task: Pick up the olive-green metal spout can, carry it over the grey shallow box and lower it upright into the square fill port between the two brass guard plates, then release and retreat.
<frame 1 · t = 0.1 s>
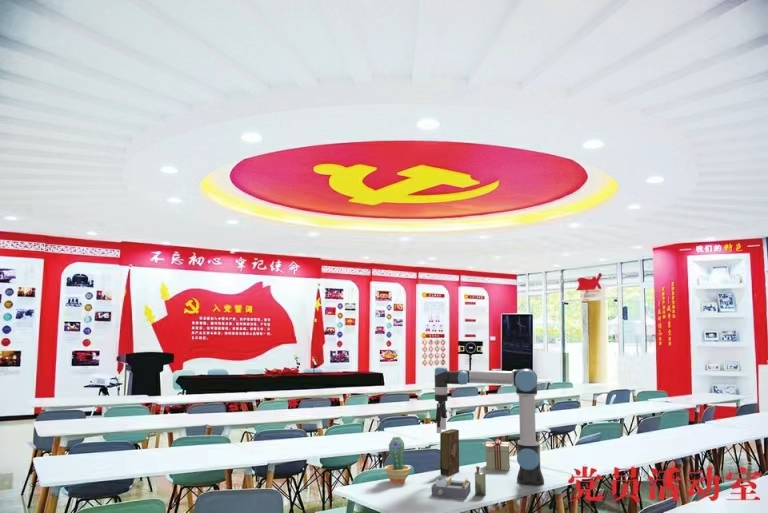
hand: (441, 431, 332), 28 cm above the table, fingers open, 13 cm apart
book: (450, 473, 348), on the table
spout can: (480, 494, 300), on the table
gift box: (495, 468, 363), on the table
potted cactus: (397, 482, 326), on the table
grey shallow box: (451, 493, 302), on the table
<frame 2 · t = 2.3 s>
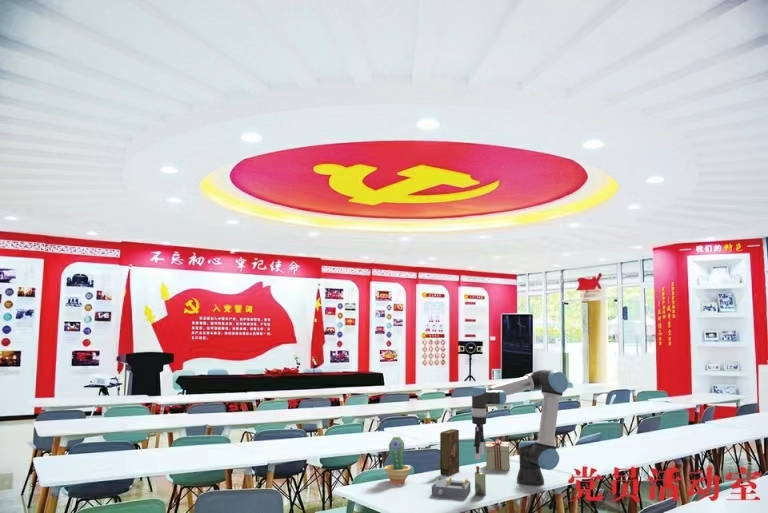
hand: (479, 457, 303), 19 cm above the table, fingers open, 13 cm apart
nothing on the table moved.
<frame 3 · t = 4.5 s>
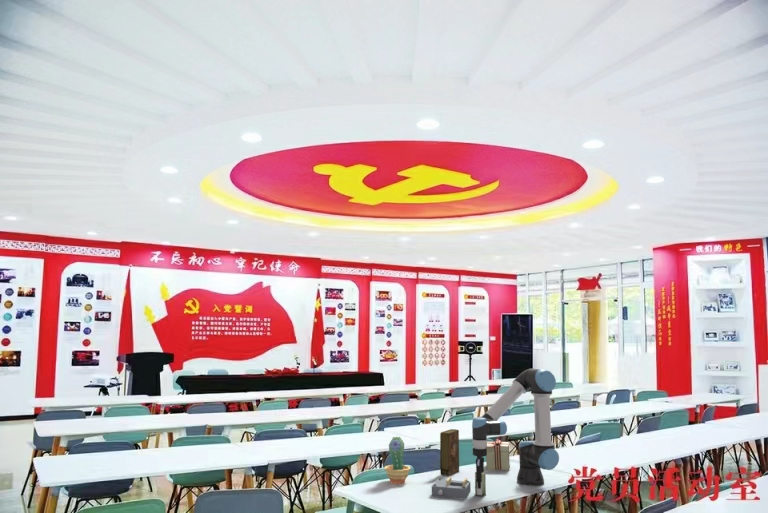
hand: (480, 493, 300), 1 cm above the table, fingers closed on spout can, 5 cm apart
spout can: (480, 494, 300), on the table, touching gripper
everything else where it was.
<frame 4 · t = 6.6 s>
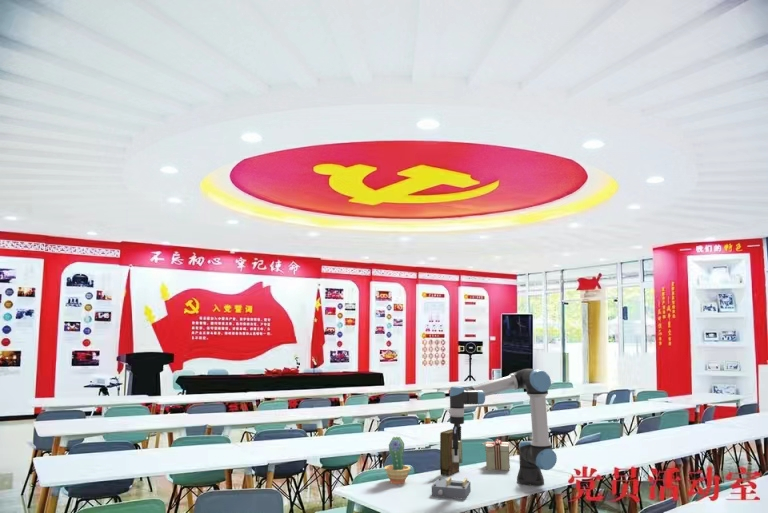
hand: (457, 460, 303), 17 cm above the table, fingers closed on spout can, 5 cm apart
spout can: (457, 462, 303), point 16 cm above the table, touching gripper
everything else where it was.
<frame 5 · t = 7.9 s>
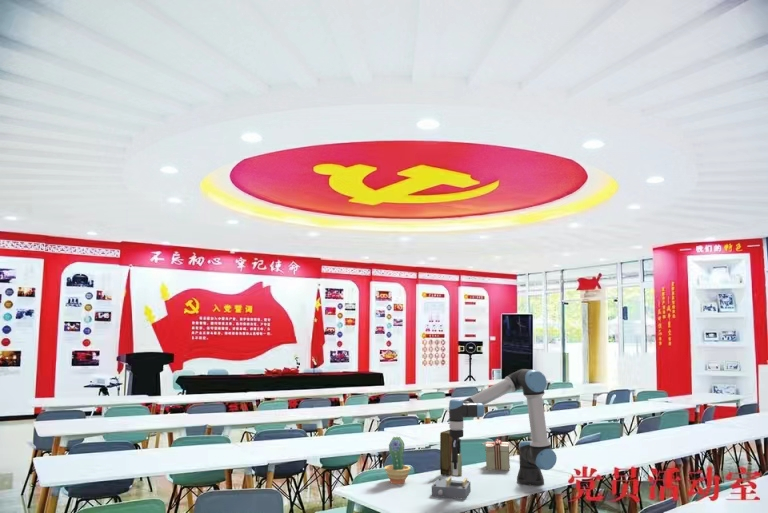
hand: (456, 473, 302), 10 cm above the table, fingers closed on spout can, 5 cm apart
spout can: (456, 475, 302), point 9 cm above the table, touching gripper
everything else where it was.
when the fingers open (5 cm above the table, at t = 9.1 s): spout can drops 1 cm, resting on grey shallow box.
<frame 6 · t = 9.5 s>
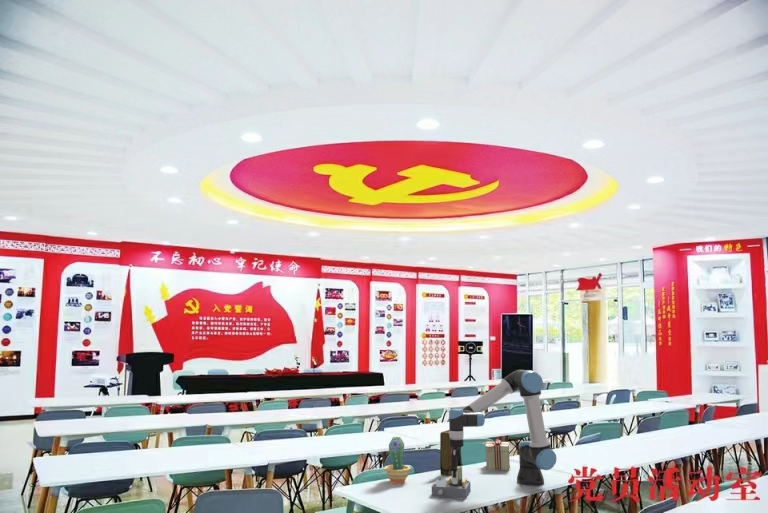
hand: (456, 481, 302), 7 cm above the table, fingers open, 11 cm apart
spout can: (457, 488, 301), point 3 cm above the table, touching grey shallow box
everything else where it was.
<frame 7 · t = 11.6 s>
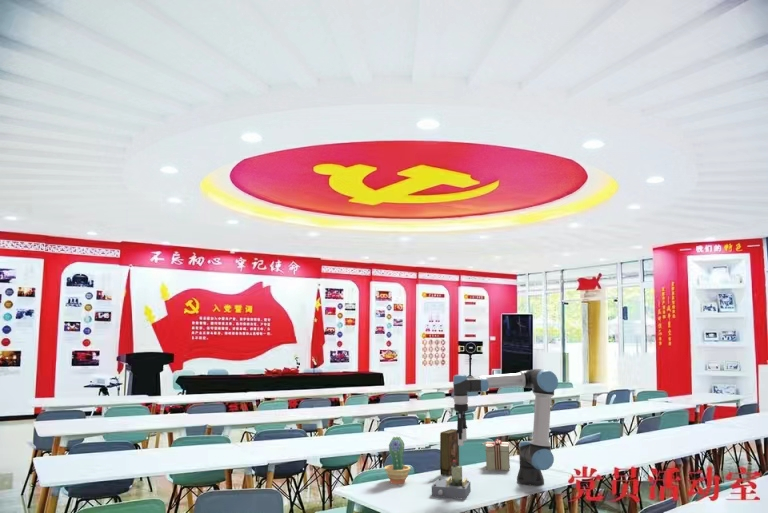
hand: (462, 443, 310), 25 cm above the table, fingers open, 13 cm apart
nothing on the table moved.
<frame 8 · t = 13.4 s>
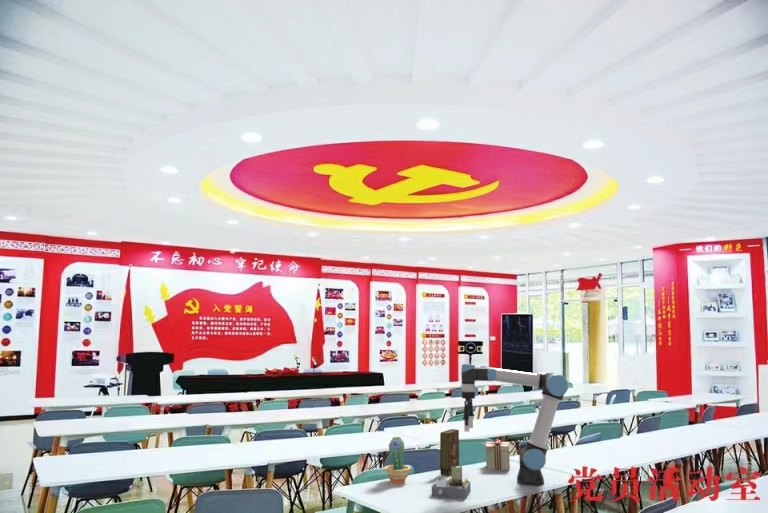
hand: (468, 429, 321), 31 cm above the table, fingers open, 13 cm apart
nothing on the table moved.
at the end: spout can 0.0 cm from the target spot on the grey shallow box, point 3.0 cm above the grey shallow box's base; spout can tilted 0°; the gripper is holding nothing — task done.
